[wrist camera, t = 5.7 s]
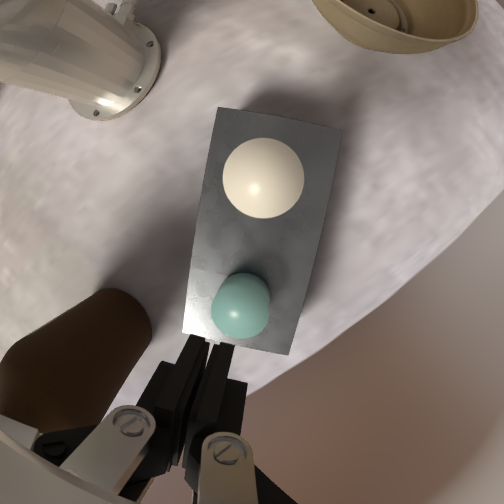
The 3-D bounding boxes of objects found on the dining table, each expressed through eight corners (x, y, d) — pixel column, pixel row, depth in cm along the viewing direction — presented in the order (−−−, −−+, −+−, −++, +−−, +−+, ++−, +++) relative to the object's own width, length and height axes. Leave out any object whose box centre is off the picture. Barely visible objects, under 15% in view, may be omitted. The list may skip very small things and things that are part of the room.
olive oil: (170, 314, 34) (44, 488, 9) (140, 371, 36) (46, 517, 12) (97, 266, 33) (-70, 372, 9) (78, 327, 36) (-44, 438, 12)
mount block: (229, 120, 28) (217, 106, 22) (330, 139, 27) (342, 130, 22) (198, 306, 33) (182, 332, 27) (287, 325, 33) (288, 355, 27)
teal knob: (233, 250, 31) (215, 280, 22) (276, 259, 30) (274, 292, 22) (226, 290, 32) (207, 331, 23) (267, 299, 32) (262, 343, 23)
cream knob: (247, 147, 24) (230, 131, 16) (300, 157, 24) (311, 146, 15) (238, 198, 25) (216, 209, 17) (289, 208, 25) (294, 225, 16)
